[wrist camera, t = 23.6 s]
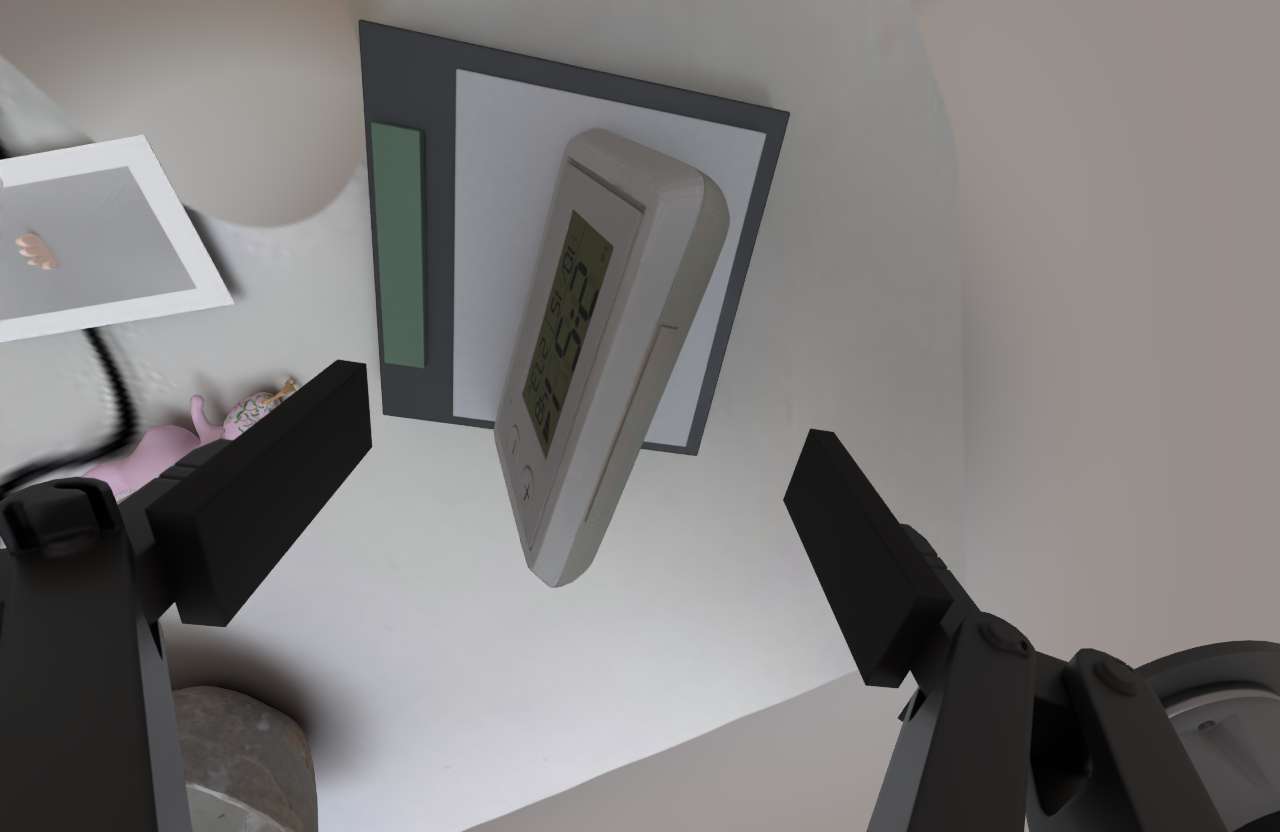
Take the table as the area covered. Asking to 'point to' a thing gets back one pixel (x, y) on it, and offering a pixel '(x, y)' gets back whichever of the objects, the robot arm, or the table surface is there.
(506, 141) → the scale
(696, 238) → the digital clock
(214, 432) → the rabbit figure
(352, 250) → the table surface
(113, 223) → the touchpad
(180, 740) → the ceramic bowl
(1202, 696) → the robot arm
